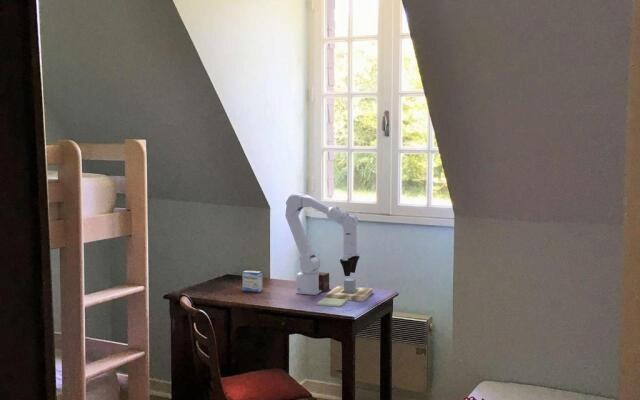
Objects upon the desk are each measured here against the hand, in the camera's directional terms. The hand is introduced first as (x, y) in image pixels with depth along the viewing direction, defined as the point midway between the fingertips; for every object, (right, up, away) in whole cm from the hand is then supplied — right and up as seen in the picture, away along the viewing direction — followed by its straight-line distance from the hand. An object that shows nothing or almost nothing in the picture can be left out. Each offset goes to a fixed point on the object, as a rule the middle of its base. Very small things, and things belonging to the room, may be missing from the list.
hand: (349, 274), depth 305 cm
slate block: (0, -9, +1) cm, 9 cm away
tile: (-8, -11, -12) cm, 18 cm away
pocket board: (0, -9, +1) cm, 9 cm away
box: (-13, -8, +13) cm, 20 cm away
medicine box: (-43, -9, +12) cm, 45 cm away
